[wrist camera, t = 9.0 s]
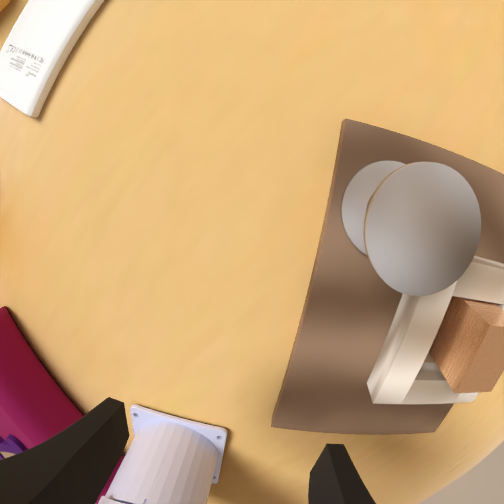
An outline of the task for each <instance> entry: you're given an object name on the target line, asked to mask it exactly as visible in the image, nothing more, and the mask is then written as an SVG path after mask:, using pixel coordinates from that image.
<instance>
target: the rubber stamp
mask: <svg viewBox="0 0 504 504" xmlns="http://www.w3.org/2000/svg"><path fill="white" fill-rule="evenodd" d="M10 1H11V0H0V12H1V11H2V10H3V9H4V8H5V7H6V6H7V5H8V4H9V2H10Z"/></svg>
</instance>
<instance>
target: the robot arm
mask: <svg viewBox="0 0 504 504" xmlns="http://www.w3.org/2000/svg"><path fill="white" fill-rule="evenodd" d="M130 411H131V418H132V424H133V430H134V436H135V438H134V440H133V442H132V443H131V445H130V447H129V449H128V451H127V453H126V455H125V457H124V459H123V461H122V463H121V465H120V467H119V469H118V471H117V473H116V475H115V477H114V479H113V481H112V483H111V485H110V487H109V489H108V491H107V493H106V495H105V496H102V497H101V499H100V501H99V503H98V504H207V500H208V496H209V492H210V488H211V484H216V483H218V479H219V474H220V469H221V464H222V458H223V453H224V448H225V443H226V438H227V430H226V429H225V428H222V427H217V426H213V425H208V424H204V423H199V422H195V421H191V420H187V419H183V418H179V417H176V416H172V415H168V414H165V413H161V412H158V411H155V410H151V409H148V408H145V407H142V406H139V405H135V404H134V405H132V406H131V408H130ZM128 438H129V431H128V426H127V420H126V414H125V407H124V403H123V402H121V401H118V400H115V399H112V398H110V397H109V398H107V399H105V400H104V401H103V402H101V403H100V404H99V405H98V406H96V407H95V408H94V409H92V410H91V411H90V412H88V413H87V414H86V415H84V416H83V417H82V418H80V419H79V420H77V421H76V422H75V423H73V424H72V425H70V426H69V427H67V428H66V429H64V430H63V431H61V432H59V433H58V434H56V435H54V436H53V437H51V438H49V439H48V440H46V441H44V442H42V443H40V444H39V445H37V446H34V447H32V448H30V449H28V450H26V451H23V452H21V453H18V454H16V455H13V456H10V457H7V458H4V459H1V460H0V504H96V501H97V499H98V497H99V495H100V494H101V492H102V490H103V488H104V486H105V485H106V483H107V481H108V479H109V478H110V476H111V474H112V472H113V470H114V469H115V467H116V465H117V463H118V462H119V460H120V458H121V456H122V453H123V451H124V448H125V446H126V443H127V440H128ZM308 499H309V504H376V503H375V502H374V500H373V498H372V497H371V495H370V494H369V492H368V490H367V488H366V487H365V485H364V483H363V481H362V480H361V478H360V476H359V474H358V472H357V470H356V468H355V466H354V464H353V462H352V460H351V458H350V456H349V454H348V452H347V450H346V448H345V446H344V445H343V444H326V446H325V448H324V450H323V451H322V453H321V455H320V457H319V458H318V460H317V462H316V463H315V465H314V467H313V468H312V470H311V472H310V479H309V494H308Z"/></svg>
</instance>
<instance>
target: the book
mask: <svg viewBox="0 0 504 504" xmlns="http://www.w3.org/2000/svg"><path fill="white" fill-rule="evenodd" d="M82 417H83V414H82V413H81V412H80V411H79V410H78V409H77V408H76V406H75V405H74V404H73V403H72V402H71V401H70V399H69V398H68V397H67V396H66V395H65V393H64V392H63V391H62V390H61V388H60V387H59V386H58V385H57V383H56V382H55V381H54V380H53V378H52V377H51V376H50V374H49V373H48V372H47V370H46V369H45V368H44V366H43V365H42V363H41V362H40V361H39V359H38V358H37V356H36V355H35V353H34V352H33V351H32V349H31V348H30V346H29V345H28V343H27V342H26V340H25V338H24V337H23V335H22V334H21V332H20V331H19V329H18V327H17V326H16V324H15V322H14V321H13V319H12V317H11V316H10V314H9V312H8V310H7V309H6V307H5V306H4V307H2V308H0V460H1V459H4V458H7V457H10V456H13V455H16V454H18V453H21V452H23V451H26V450H28V449H30V448H32V447H34V446H37V445H39V444H40V443H42V442H44V441H46V440H48V439H49V438H51V437H53V436H54V435H56V434H58V433H59V432H61V431H63V430H64V429H66V428H67V427H69V426H70V425H72V424H73V423H75V422H76V421H77V420H79V419H80V418H82ZM123 459H124V456H123V455H122V456H121V458H120V460H119V462H118V463H117V465H116V467H115V469H114V470H113V472H112V474H111V476H110V478H109V479H108V481H107V483H106V485H105V486H104V488H103V490H102V492H101V494H100V495H99V497H98V499H97V501H96V504H98V503H99V501H100V499H101V497H102V496H105V495H106V493H107V491H108V489H109V487H110V485H111V483H112V481H113V479H114V477H115V475H116V473H117V471H118V469H119V467H120V465H121V463H122V461H123Z"/></svg>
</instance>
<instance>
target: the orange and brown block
mask: <svg viewBox="0 0 504 504" xmlns="http://www.w3.org/2000/svg"><path fill="white" fill-rule="evenodd" d="M429 353H430V355H431V356H432V358H433V360H434V361H435V363H436V364H437V366H438V367H439V369H440V371H441V372H442V374H443V375H444V377H445V379H446V380H447V382H448V384H449V385H450V387H451V388H452V390H453V392H454V394H455V393H476V392H490V391H492V389H493V387H494V386H495V384H496V383H497V381H498V379H499V377H500V376H501V374H502V372H503V370H504V310H502V309H501V308H500V307H499V306H498V305H496V304H495V303H492V302H486V301H480V300H474V299H468V298H462V297H456V296H452V297H451V300H450V302H449V305H448V308H447V310H446V313H445V315H444V318H443V320H442V323H441V325H440V327H439V330H438V332H437V334H436V337H435V339H434V341H433V343H432V345H431V348H430V350H429Z"/></svg>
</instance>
